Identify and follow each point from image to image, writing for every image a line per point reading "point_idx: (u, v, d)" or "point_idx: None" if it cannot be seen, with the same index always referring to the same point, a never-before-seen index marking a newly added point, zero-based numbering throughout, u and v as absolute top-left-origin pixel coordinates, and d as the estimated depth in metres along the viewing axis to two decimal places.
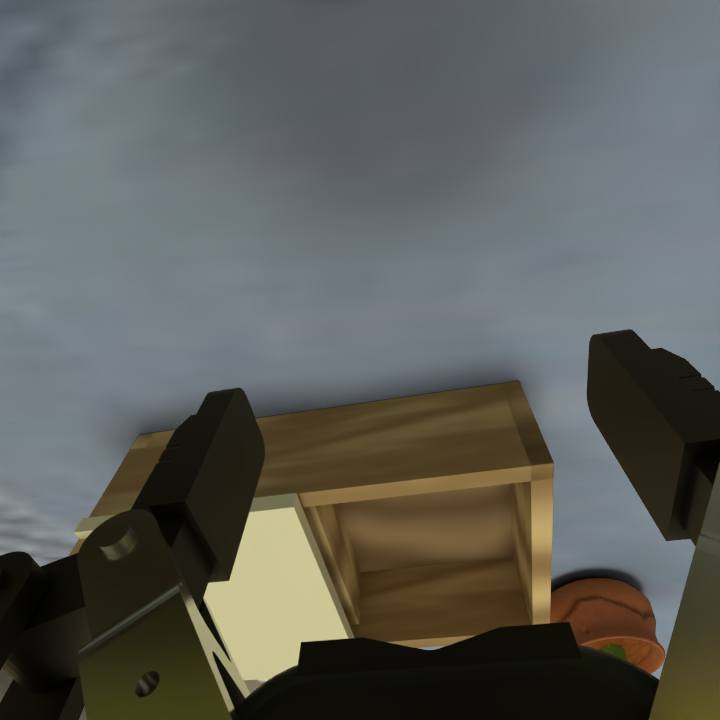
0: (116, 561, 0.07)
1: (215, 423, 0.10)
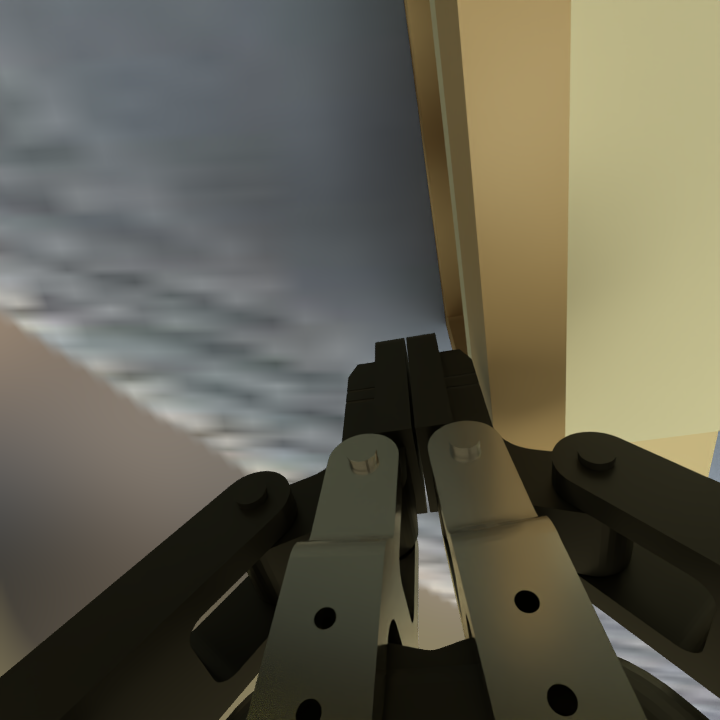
0: (374, 476, 0.08)
1: (401, 366, 0.10)
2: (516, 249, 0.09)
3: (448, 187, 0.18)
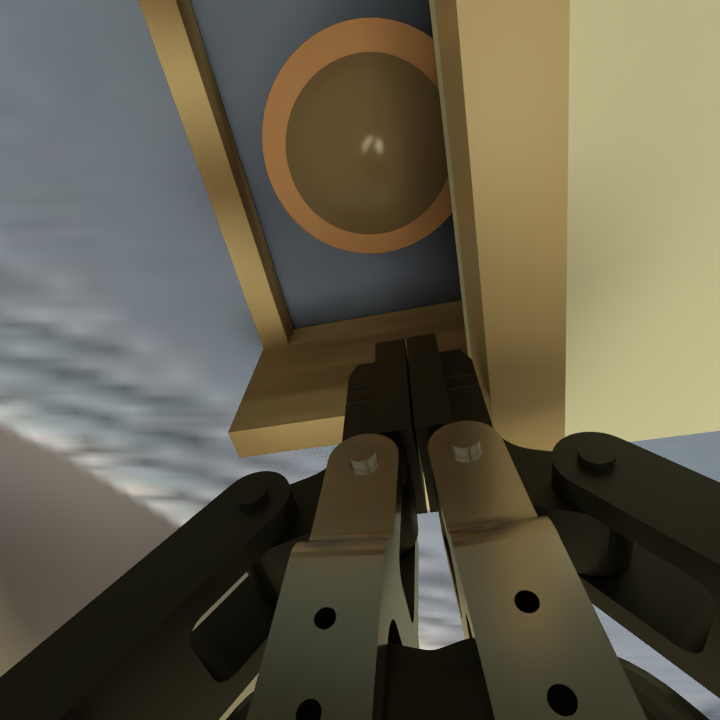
0: (374, 476, 0.08)
1: (400, 366, 0.10)
2: (515, 248, 0.09)
3: (237, 230, 0.19)
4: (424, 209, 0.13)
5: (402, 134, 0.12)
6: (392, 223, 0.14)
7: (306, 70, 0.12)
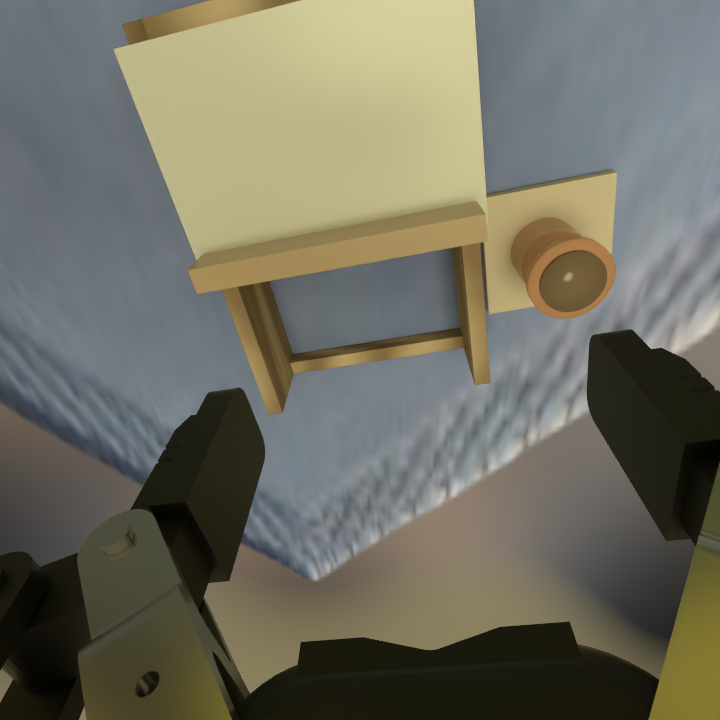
0: (116, 561, 0.07)
1: (215, 423, 0.10)
2: (359, 253, 0.28)
3: (402, 350, 0.44)
4: (601, 261, 0.32)
5: (570, 271, 0.32)
6: (604, 274, 0.32)
7: (540, 301, 0.34)
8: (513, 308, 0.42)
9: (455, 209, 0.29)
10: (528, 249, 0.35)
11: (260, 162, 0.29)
